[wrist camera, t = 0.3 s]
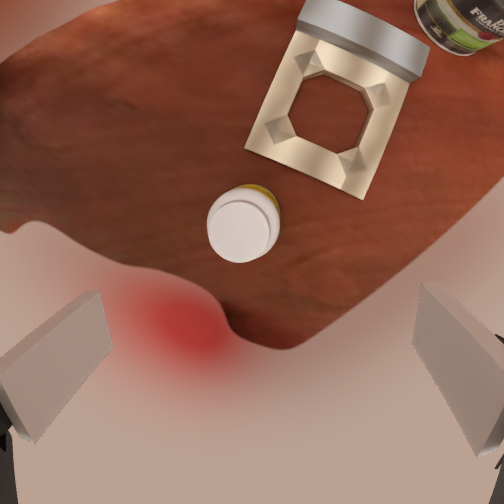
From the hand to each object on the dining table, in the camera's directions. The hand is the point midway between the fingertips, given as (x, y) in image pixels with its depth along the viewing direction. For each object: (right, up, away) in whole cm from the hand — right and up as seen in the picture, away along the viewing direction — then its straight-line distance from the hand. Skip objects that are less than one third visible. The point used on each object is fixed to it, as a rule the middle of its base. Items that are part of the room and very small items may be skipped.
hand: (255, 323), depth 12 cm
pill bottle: (0, +7, +23) cm, 24 cm away
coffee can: (+24, +31, +14) cm, 42 cm away
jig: (+9, +19, +18) cm, 28 cm away
